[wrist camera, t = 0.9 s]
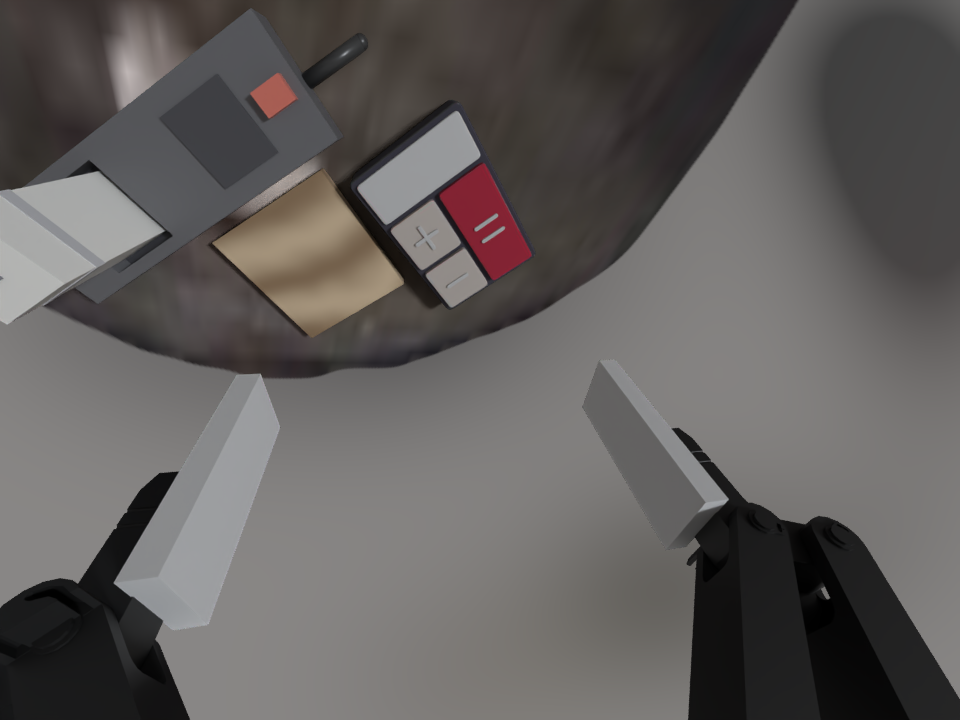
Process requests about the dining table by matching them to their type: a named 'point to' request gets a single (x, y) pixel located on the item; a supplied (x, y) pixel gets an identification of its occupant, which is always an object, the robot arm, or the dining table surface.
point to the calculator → (445, 206)
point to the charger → (65, 238)
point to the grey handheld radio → (208, 138)
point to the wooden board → (312, 255)
